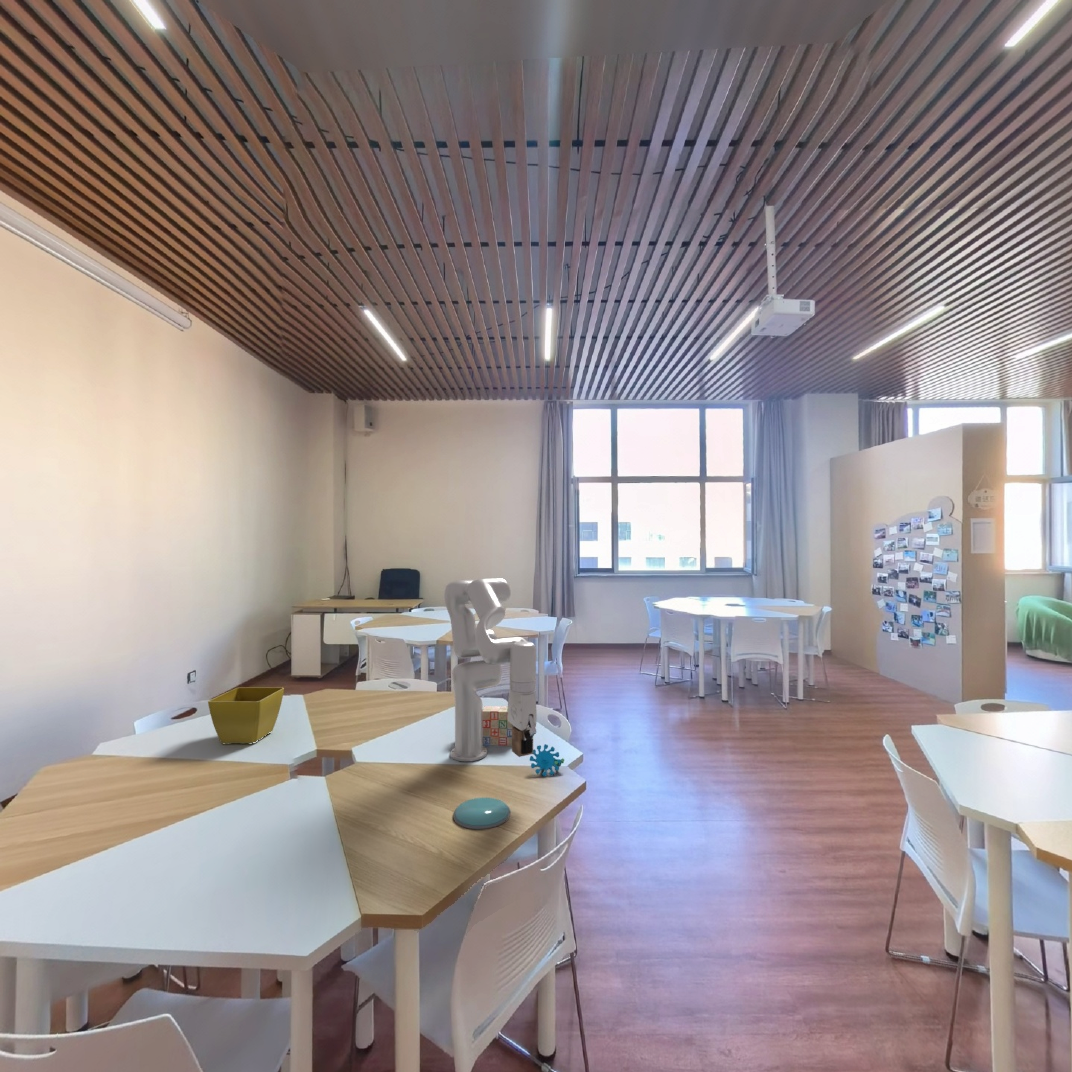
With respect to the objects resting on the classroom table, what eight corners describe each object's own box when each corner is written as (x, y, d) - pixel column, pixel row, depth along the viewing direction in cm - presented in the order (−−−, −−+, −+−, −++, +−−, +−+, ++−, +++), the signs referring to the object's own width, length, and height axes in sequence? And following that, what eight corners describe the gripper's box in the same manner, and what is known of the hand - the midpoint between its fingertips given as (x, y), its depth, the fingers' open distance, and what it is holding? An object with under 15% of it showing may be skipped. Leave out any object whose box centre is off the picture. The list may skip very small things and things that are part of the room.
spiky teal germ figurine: (528, 772, 161) (531, 741, 168) (526, 780, 165) (529, 749, 172) (564, 777, 161) (565, 745, 169) (561, 784, 165) (562, 753, 173)
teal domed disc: (445, 809, 142) (445, 804, 142) (496, 796, 149) (496, 792, 149) (465, 835, 129) (465, 830, 129) (519, 820, 136) (519, 815, 136)
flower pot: (258, 748, 187) (258, 701, 187) (205, 748, 187) (206, 701, 188) (284, 730, 206) (285, 687, 206) (237, 729, 206) (237, 687, 207)
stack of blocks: (456, 744, 189) (456, 710, 190) (460, 738, 196) (460, 705, 196) (515, 746, 188) (515, 711, 188) (517, 739, 194) (517, 706, 195)
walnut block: (511, 751, 150) (512, 726, 150) (525, 748, 152) (525, 724, 152) (519, 756, 146) (519, 731, 146) (533, 753, 148) (533, 729, 148)
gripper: (498, 680, 155) (498, 742, 155) (524, 695, 140) (524, 763, 140) (521, 677, 159) (520, 737, 158) (549, 691, 144) (548, 758, 143)
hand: (522, 749), depth 149 cm, fingers closed on walnut block, 4 cm apart
